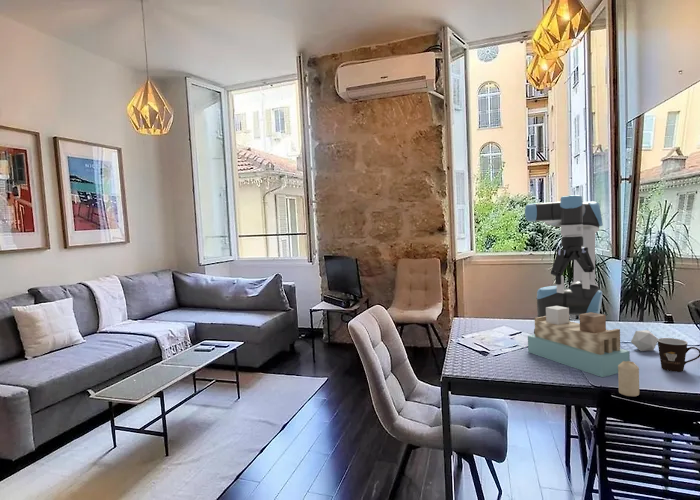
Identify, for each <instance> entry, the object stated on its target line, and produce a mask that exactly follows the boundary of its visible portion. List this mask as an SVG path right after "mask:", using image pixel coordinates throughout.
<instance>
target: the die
mask: <svg viewBox="0 0 700 500" xmlns="http://www.w3.org/2000/svg"><path fill="white" fill-rule="evenodd" d="M658 339H659V338H658V337H657V336H656V335H654V334H653V333H652V332H651V331H650V330H649V329H647V330H646V329H645V330H644V329H642V330H635V332H634V334H633V337H632V339H631V340H630V343H632V344H633V346H635V347H636V348H637V349H638V350H639V351H640V352H650V351H654V350H655V349H656V346H657V345H658V341H657V340H658Z"/></svg>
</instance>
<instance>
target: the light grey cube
mask: <svg viewBox="0 0 700 500" xmlns="http://www.w3.org/2000/svg"><path fill="white" fill-rule="evenodd" d="M569 321H570V315H569V308H566V307H561V306H551V307H546V322H548V323H552V324H557V325H560V324H565V323H569Z"/></svg>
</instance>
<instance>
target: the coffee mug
mask: <svg viewBox="0 0 700 500" xmlns="http://www.w3.org/2000/svg"><path fill="white" fill-rule="evenodd" d="M657 341H658V342H657V346H658V347H657V348H658V354H659V360H660V366H661V367H660V368H661V369H663V370H664V371H668V372H671V373H672V372H673V373H681V372H684V371H685V366H686V364H687V363H691V362H693V361H695V360H697V359H699V358H700V349H699V348H698V347H695V346H690V347H688V341H686V340H683V339H680V338H673V337H672V338H671V337H661V338H658V340H657ZM692 349H694V350H695V351H696V350H697V352H698V353H699V354H698V356H696V357H694V358H691V359H689V360H686V356H687V353H688V352H689V351H690V350H692Z"/></svg>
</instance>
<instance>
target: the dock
mask: <svg viewBox="0 0 700 500" xmlns="http://www.w3.org/2000/svg"><path fill="white" fill-rule="evenodd" d="M527 352H528V353H530V354H532V355H535V356H539V357H542V358H545V359H547V360H549V361H553V362H556V363H559V364H562V365H564V366H568V367H570V368H573V369H576V370H579V371H582V372H586V373H588V374H592V375H595V376H598V377H601V378H605V377H610V376H613V375H617V374H618V365H619V364H620V363H622V362H623V361H631V360H630V358H631V357H630V356H631V355H630V353H631V352H630V350H628V349H623V348H620V351H614V350H612V352H611V353H607V352H604V354H603V355H599V354H595V353H592V352H588V351H585V350H582V349H578V348H575V347H571V346H568V345H564V344H561V343H557V342H554V341H550V340H547V339H543V338H540V337H536V336H535V335H534V334H530V335H527Z"/></svg>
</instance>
